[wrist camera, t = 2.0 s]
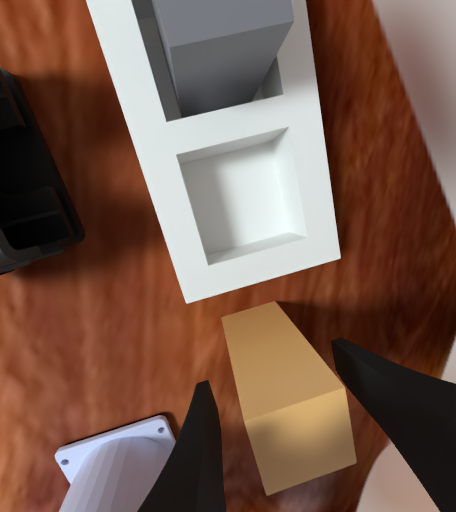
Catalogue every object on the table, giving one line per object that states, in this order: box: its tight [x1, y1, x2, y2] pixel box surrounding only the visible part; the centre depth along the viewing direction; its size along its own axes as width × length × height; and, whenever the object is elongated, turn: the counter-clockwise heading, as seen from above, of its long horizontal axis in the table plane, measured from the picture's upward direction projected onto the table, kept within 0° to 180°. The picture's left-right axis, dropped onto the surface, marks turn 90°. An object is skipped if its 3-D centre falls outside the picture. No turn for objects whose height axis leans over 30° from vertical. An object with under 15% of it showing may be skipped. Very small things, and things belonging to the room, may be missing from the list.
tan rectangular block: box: [221, 301, 357, 496], centre depth 13 cm, size 4×4×8 cm
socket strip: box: [86, 0, 341, 304], centre depth 10 cm, size 16×9×6 cm, turn 14°
